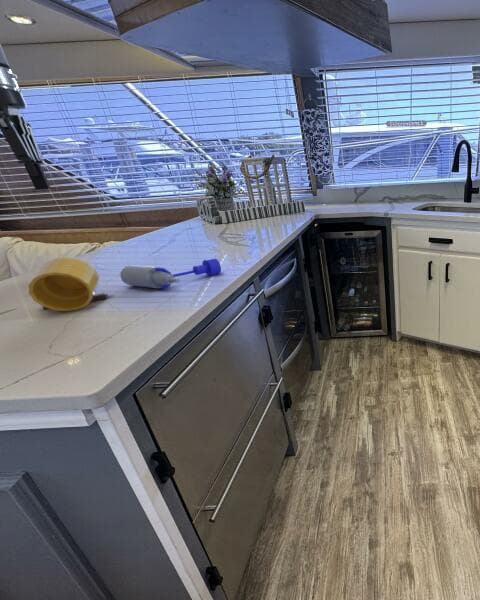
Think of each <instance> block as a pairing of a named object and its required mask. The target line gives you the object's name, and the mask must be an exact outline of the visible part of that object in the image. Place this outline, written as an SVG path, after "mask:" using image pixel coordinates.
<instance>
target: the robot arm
mask: <svg viewBox="0 0 480 600" xmlns="http://www.w3.org/2000/svg"><path fill="white" fill-rule="evenodd" d="M6 56H7V55H6V53H5V52H4V50H3V47H2V45H1V43H0V131H1V134H2V136H3V137H4V139H5V141H6V142H7V143H8V146H9V147H10V149H11V151H12V153H13V155H14V156H15V158H16V160H17V163H18V164H20V165H21V164H22V165H24V167H25V169H26V172H27V174H28V176H29V178H30V180H31V183H32V186H33V187H34V190H36V191H37V190H38V191H39V190H51V189H52V187H51V185H50V182H49V180H48V179H47V176H46V173H45V172H44V169H43V167H42V164H44V163H45V161H44V160H43V159H42V156H41V153H40V150H39V147H38V145H37V142H36V139H35V135H34V133H33V128H32V125H31V124H30V123H28V122H27V120H26V118H25V117H24V116H23V115H22V113H21V111H20V110H24V109H27V107H28V105H27V103H26V101H25V98H24V96H23V94H22V92H20V90H18V89H19V85H18V83H17V80H16V79H18V75H16V74H14V73H13V71H12V69H11V67H10V64H9V61H8V59H7V57H6Z"/></svg>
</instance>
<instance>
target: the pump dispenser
mask: <svg viewBox="0 0 480 600" xmlns="http://www.w3.org/2000/svg"><path fill="white" fill-rule="evenodd" d="M221 272H222V266H221V263H220V261H219V260H218V259H217V258H215V257H212V258H208V259H204V260H202V263H201V264H199V265H193V266H192V269H191V270H187V271H183V272H182V271H181V272H178V273H173V274H172V272H171V271H169V270H168V269H166V268H165V267H159V266H149V265H137V264H136V265H134V264H131V265H127V266H125V267H123V268H122V269H121V271H120V279H121V281H122V282H123V283H124V284H126V285H127V286H133V287H143V288H153V289H162V290H165V289H166V288H169V287H170V286H171V284H174V283H176V284H177V283H178V284H179V283H180V281H181V280H180V279H179V278H177V277H182V276H186V275H191V274H194V275H195V276H198V275H203V274H206V275H207V276H209V277H210V276H214V275H218V274H221Z"/></svg>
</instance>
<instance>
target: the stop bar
mask: <svg viewBox="0 0 480 600" xmlns="http://www.w3.org/2000/svg"><path fill="white" fill-rule="evenodd" d="M108 298H109V294H108V292H101V293H95V294H94V296H93V298H92V300H91V301H90V302H95V301H101V300H106V299H108ZM41 306H42V305H41ZM42 309H43V310H50V309H49V308H46V307H43V306H42Z"/></svg>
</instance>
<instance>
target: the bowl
mask: <svg viewBox="0 0 480 600" xmlns="http://www.w3.org/2000/svg"><path fill="white" fill-rule="evenodd" d="M99 285H100V275H99V273H98V271H97V269H95V268H94V267H93V266H92V265H90V264H89V263H88V262H85V261H83V260H80V259H77V258H71V257H59V258H53V259H50V260H49V261H46V262H45V263H44V264H43V266H41V268H40V269H39V271H38V272H37V274H36V275H35V276H34V278H33V279H32V280H31V282H30V283H29V284H28V294H29V295H30V297H31V298H32V300H33V301H34V302H36V304H39V305H40V306H43V307H46V308H49V309H48V310H53V311H59V312H71V311H78V310H81V309H82V308H84V307H86V306H88V305H89V304H90V303H91V302H92V301H91V300H92V298H93V296H94V295H95V294H96V291H97V289H98V287H99ZM43 307H42V308H43Z"/></svg>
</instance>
